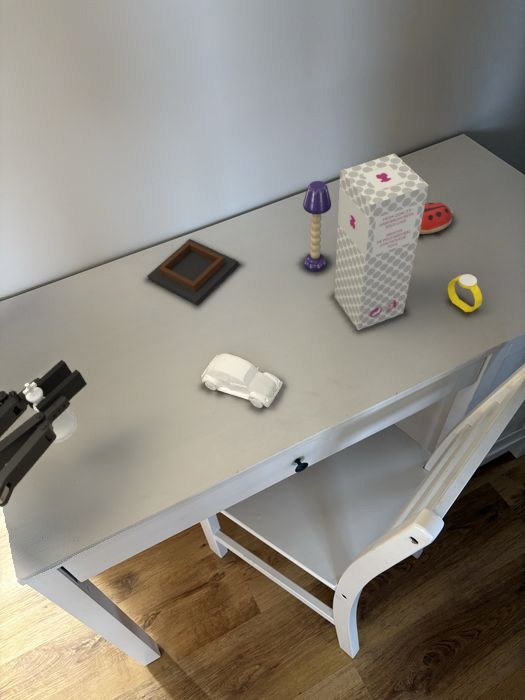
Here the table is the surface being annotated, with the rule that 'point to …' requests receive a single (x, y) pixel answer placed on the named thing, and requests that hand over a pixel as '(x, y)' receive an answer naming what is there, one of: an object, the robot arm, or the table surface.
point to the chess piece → (61, 424)
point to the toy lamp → (316, 222)
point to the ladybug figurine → (435, 218)
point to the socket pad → (193, 271)
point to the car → (241, 380)
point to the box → (377, 238)
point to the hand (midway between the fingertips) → (74, 372)
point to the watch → (468, 283)
